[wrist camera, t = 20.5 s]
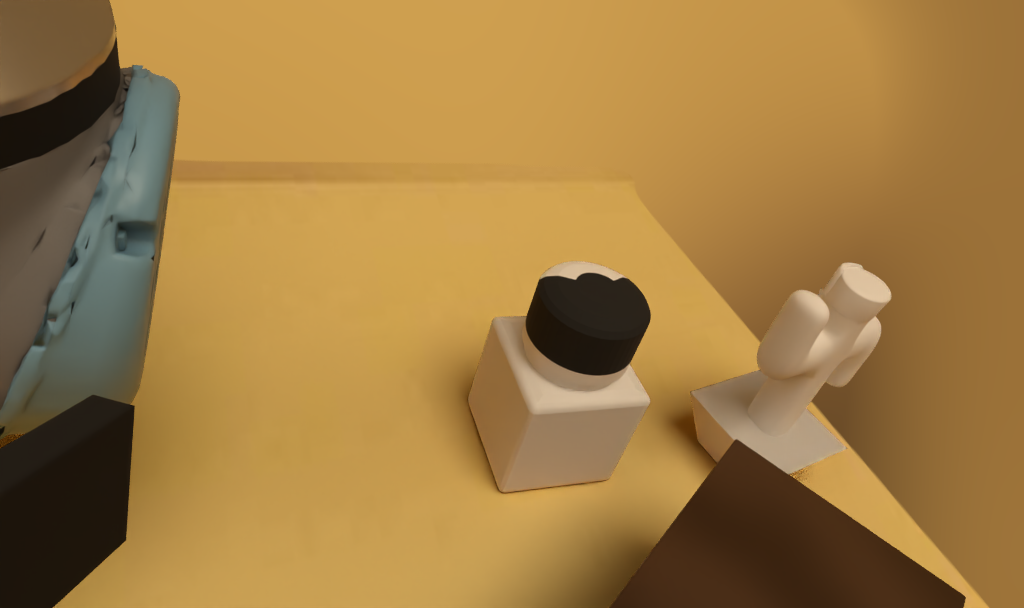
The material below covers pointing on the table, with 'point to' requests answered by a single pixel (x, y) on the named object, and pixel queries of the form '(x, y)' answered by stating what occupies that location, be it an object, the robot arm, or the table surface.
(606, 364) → the medicine bottle
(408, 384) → the table surface
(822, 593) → the cabinet
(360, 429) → the table surface
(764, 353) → the figurine
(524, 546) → the table surface
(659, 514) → the table surface
